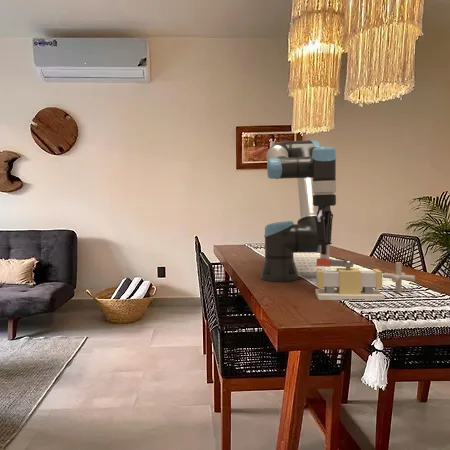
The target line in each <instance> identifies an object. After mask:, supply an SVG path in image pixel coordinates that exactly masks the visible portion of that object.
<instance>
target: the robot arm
mask: <svg viewBox="0 0 450 450" xmlns="http://www.w3.org/2000/svg"><path fill="white" fill-rule="evenodd" d="M265 154H266V155H265V157H266V159H265V160H266V161H267V165H266V166H267V167H266V169H267V170H266V172H267V173H266V174H267V178H268V179H271V180H273V179H274V180H279V179H297V189H298V200H299V212H300V213H299V214H300V218H299V219H298V220H297V223H296V224H295V222H294V221H293V220H286V221H279V222H273V223H268V224H267V225H265V228H264V261H263V265H262V269H261V272H260V278H261V280H263V281H268V282H283V283H284V282H293V281H297V280H298V279H299V272H298V269H297V266H296V263H295V259H294V258H295V257H294V253H295V254H298V253H299V254H300V253H301V254H303V253H304V254H305V253H310V254H311V253H315V254H317V253H320V254H319V258H321V259H330V245H332V244H333V243H332V231H333V218H334V214H333V212H332V211H331V206H332V207H333V206H336V204H337V195H336V194H335V193H336V192H337V179H336V177H337V172H336V171H337V170H336V165H337V164H336V162H337V161H336V160H337V155H336V149H335V147H334V146H321V143H320V142H319V141H318V140H312V139H307V140H284V141H280V142H277V143H275V144H272V145H271V146H270V147H269V148H268V149H267V151H266V153H265Z"/></svg>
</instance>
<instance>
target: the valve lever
mask: <svg viewBox="0 0 450 450" xmlns="http://www.w3.org/2000/svg"><path fill="white" fill-rule="evenodd" d="M316 267H327V268H328V267H338V268H346V267H350V268H354V260H350V259H349V260H348V259H346V260H342V259H332V258H329V259H321V258H320V257H319V258H317V259H316Z"/></svg>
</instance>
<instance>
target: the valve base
mask: <svg viewBox="0 0 450 450" xmlns="http://www.w3.org/2000/svg"><path fill="white" fill-rule="evenodd" d="M315 274H316V275H315V277H316V278H315V279H316V280H315V281H316V283H315V284H316V286H317V288H315V296H316V297H317V300H318V301H342V300H341V299H368V300H367V301H370V300H384V301H385V294H383V293H382V292H381V291H380V290H383V271H382V270H381V269H379V268H372V270H359V269H358V268H357V267H336V270H323V269H322V268H316V270H315ZM335 287H336V288H335Z"/></svg>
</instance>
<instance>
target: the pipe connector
mask: <svg viewBox="0 0 450 450" xmlns="http://www.w3.org/2000/svg"><path fill="white" fill-rule="evenodd" d="M402 267H403V264H402V262H399V261H397V262H395V273H392V272H391V273H389V272H382V279H391V281H392V282H393V283H395V292H396V293H402V283H403V282H402V281H410V282H415V281H416V275H412V274H406V273H405V272H402V269H403V268H402Z"/></svg>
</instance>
